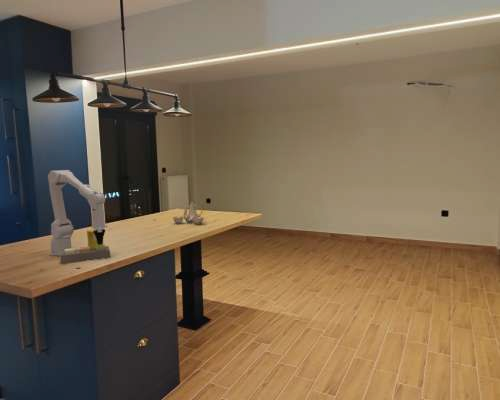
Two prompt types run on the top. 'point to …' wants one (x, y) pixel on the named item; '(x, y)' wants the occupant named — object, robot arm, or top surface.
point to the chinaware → (190, 216)
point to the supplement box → (92, 239)
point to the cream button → (69, 251)
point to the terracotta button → (85, 249)
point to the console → (84, 255)
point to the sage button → (100, 247)
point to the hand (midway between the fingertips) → (100, 244)
